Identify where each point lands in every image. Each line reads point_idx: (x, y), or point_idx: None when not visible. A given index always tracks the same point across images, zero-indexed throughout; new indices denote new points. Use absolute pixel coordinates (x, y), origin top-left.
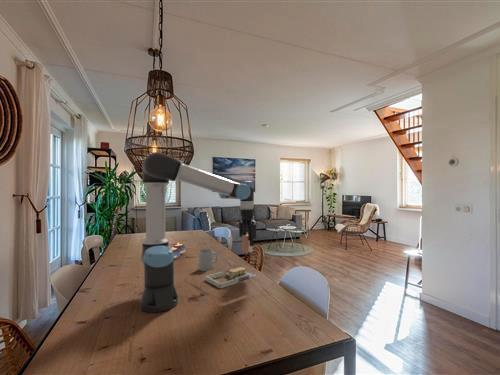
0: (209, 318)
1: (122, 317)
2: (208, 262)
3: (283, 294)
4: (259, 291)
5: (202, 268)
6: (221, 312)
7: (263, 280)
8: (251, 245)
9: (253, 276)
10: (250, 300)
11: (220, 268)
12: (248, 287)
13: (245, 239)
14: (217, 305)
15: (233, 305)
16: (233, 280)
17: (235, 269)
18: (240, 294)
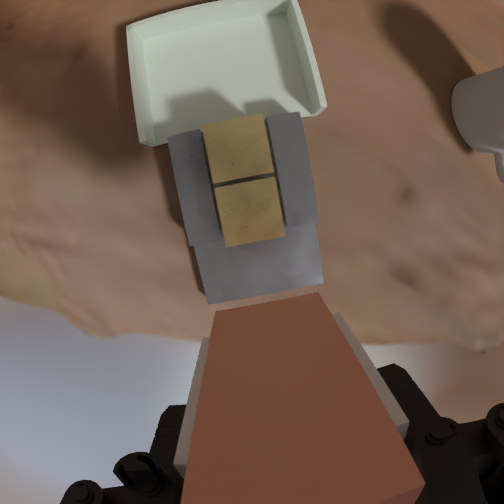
0: (9, 9)
1: None
2: (481, 101)
3: (7, 284)
4: (47, 213)
5: (465, 80)
6: (7, 37)
7: (153, 306)
8: (167, 418)
9: (201, 277)
10: (7, 142)
11: (459, 185)
12: (101, 185)
13: (236, 448)
14: (42, 24)
15: (12, 74)
16: (135, 105)
17: (252, 167)
18: (57, 119)
